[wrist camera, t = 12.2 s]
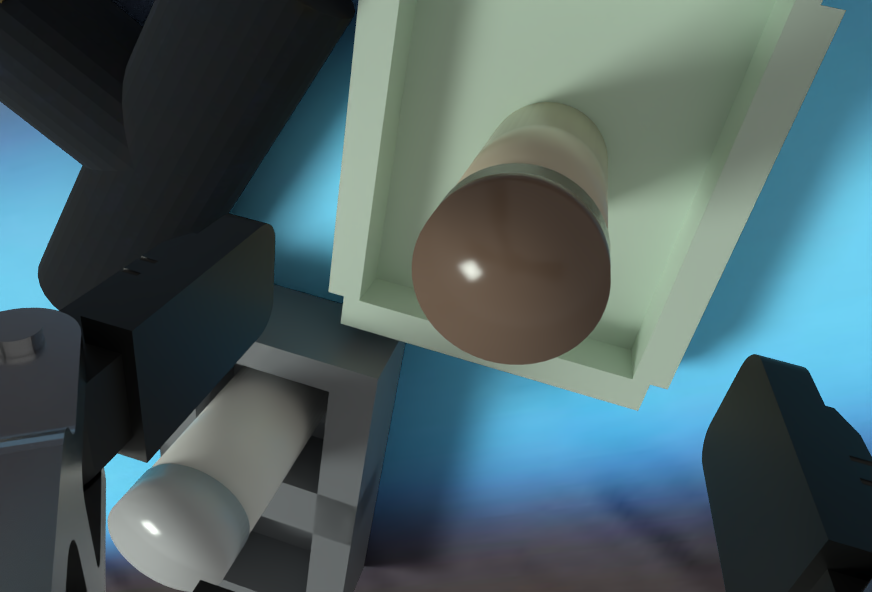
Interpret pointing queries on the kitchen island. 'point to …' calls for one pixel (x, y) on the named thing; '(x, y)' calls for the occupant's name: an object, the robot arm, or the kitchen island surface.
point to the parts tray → (623, 134)
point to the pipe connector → (155, 113)
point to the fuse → (216, 480)
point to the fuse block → (319, 449)
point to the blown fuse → (521, 241)
